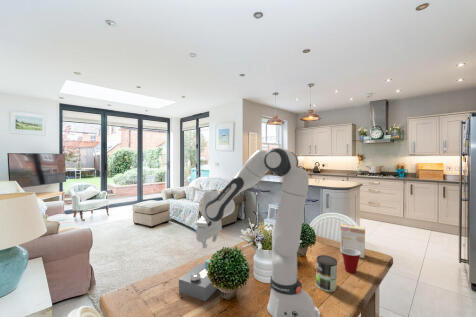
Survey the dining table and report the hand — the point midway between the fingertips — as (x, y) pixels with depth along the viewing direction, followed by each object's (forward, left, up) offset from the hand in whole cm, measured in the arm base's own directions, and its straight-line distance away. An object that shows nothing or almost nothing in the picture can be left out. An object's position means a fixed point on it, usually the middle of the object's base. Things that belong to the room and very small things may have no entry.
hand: (209, 244), depth 121 cm
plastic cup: (-70, -46, -20) cm, 86 cm away
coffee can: (-58, -23, -20) cm, 66 cm away
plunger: (0, +13, -17) cm, 22 cm away
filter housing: (0, +6, -20) cm, 20 cm away
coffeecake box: (-72, -72, -20) cm, 104 cm away
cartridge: (0, +4, -18) cm, 18 cm away
